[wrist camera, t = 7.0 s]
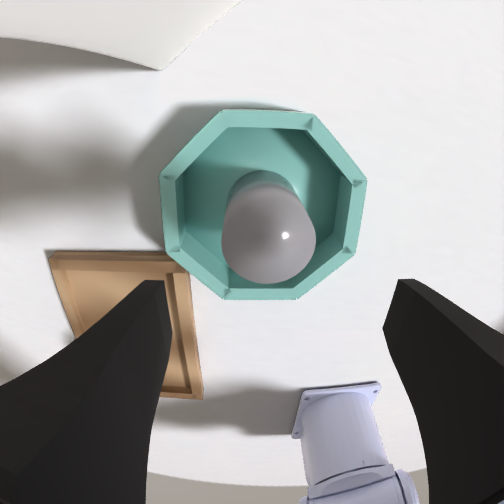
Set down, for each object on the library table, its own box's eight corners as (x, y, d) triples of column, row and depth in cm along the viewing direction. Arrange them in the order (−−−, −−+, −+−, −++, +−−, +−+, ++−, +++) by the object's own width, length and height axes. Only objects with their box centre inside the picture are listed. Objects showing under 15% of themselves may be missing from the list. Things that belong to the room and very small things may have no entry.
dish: (335, 275, 20) (345, 298, 18) (179, 275, 20) (171, 298, 18) (355, 117, 16) (373, 121, 13) (168, 111, 15) (156, 113, 13)
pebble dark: (290, 239, 19) (304, 287, 14) (223, 232, 18) (217, 279, 14) (303, 175, 17) (324, 205, 12) (230, 166, 16) (225, 192, 12)
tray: (203, 389, 26) (202, 399, 25) (103, 379, 25) (99, 388, 24) (187, 252, 19) (184, 261, 18) (56, 251, 19) (48, 259, 18)
